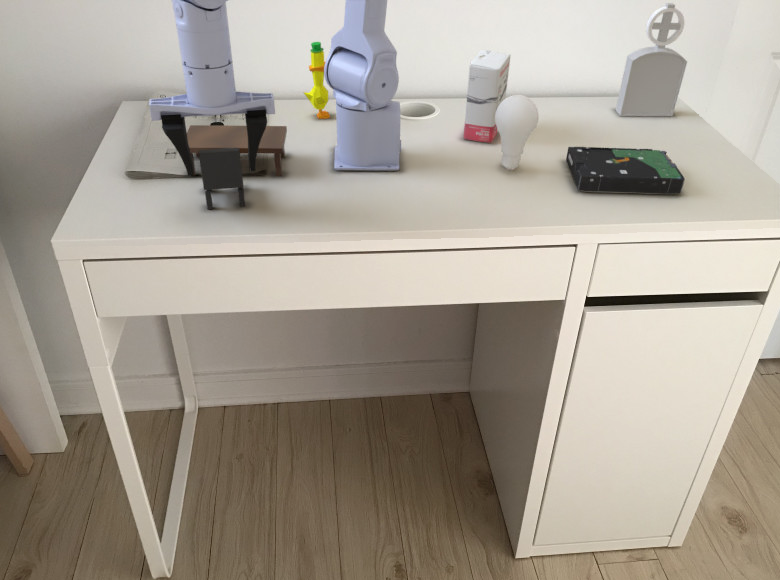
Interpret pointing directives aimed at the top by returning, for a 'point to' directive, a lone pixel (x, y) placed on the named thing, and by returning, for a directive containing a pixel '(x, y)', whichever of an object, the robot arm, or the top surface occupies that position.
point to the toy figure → (318, 81)
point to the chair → (221, 172)
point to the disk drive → (623, 170)
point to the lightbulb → (515, 127)
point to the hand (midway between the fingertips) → (221, 170)
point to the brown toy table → (236, 140)
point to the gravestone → (654, 70)
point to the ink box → (485, 94)
